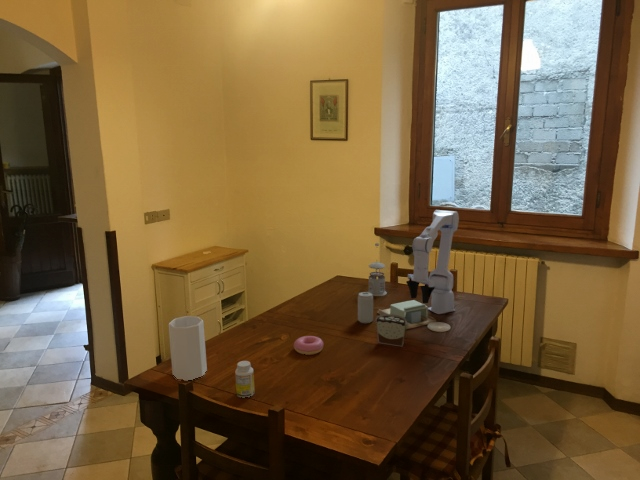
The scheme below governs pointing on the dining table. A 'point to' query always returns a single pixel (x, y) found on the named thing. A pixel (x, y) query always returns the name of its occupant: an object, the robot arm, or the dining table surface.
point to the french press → (377, 284)
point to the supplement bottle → (244, 379)
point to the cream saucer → (439, 327)
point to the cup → (187, 347)
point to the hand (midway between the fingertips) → (419, 300)
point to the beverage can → (365, 307)
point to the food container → (391, 329)
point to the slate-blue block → (413, 316)
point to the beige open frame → (424, 319)
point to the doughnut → (308, 345)
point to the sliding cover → (408, 308)
